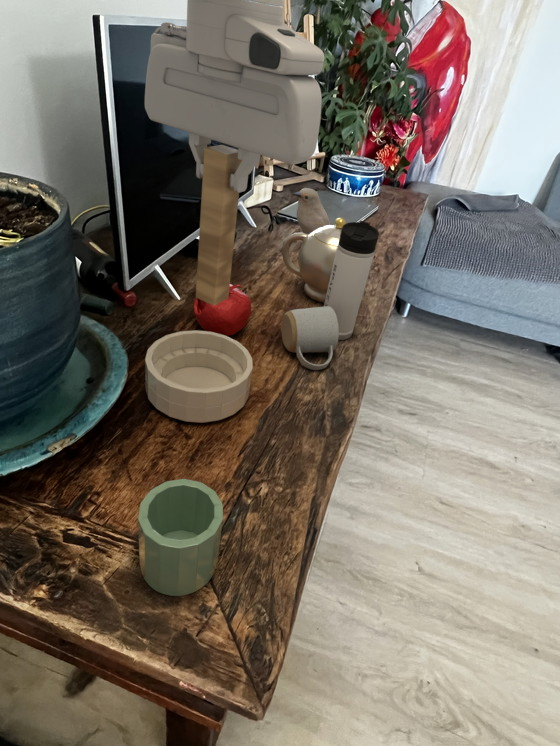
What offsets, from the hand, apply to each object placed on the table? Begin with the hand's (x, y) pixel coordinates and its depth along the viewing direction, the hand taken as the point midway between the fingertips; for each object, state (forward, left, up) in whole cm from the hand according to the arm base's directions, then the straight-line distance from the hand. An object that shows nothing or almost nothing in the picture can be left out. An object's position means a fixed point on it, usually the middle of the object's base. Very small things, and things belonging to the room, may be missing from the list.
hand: (221, 184), depth 55 cm
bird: (+59, +15, -30) cm, 68 cm away
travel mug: (+30, -7, -30) cm, 43 cm away
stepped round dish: (-1, 0, -30) cm, 30 cm away
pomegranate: (+16, +9, -30) cm, 35 cm away
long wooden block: (0, 0, -14) cm, 14 cm away
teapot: (+41, +3, -30) cm, 51 cm away
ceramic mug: (+20, -7, -30) cm, 36 cm away
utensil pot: (-23, -16, -30) cm, 41 cm away
